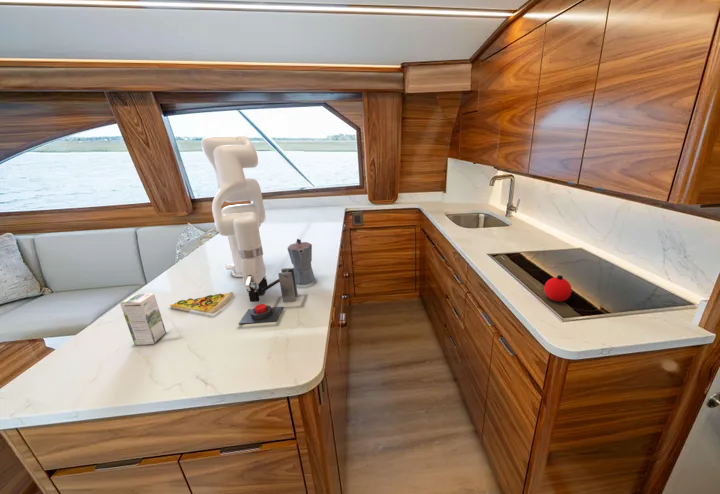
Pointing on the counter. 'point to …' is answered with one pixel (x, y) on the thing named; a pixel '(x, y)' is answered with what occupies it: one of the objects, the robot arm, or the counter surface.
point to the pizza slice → (204, 303)
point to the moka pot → (302, 262)
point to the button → (260, 308)
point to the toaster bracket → (288, 285)
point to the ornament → (558, 289)
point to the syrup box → (143, 318)
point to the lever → (262, 290)
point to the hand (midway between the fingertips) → (259, 294)
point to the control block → (261, 316)
